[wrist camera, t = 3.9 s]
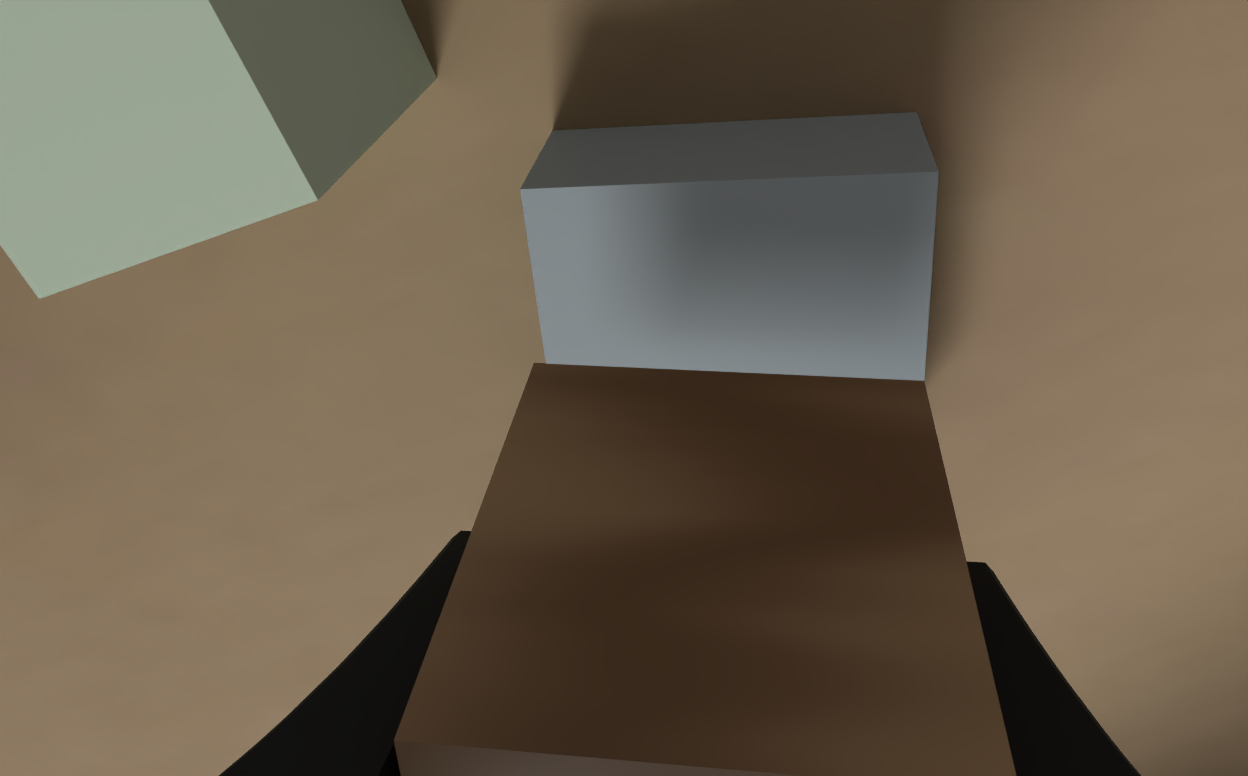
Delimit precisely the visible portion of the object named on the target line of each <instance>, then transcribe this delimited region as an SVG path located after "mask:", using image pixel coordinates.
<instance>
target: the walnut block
mask: <svg viewBox="0 0 1248 776" xmlns="http://www.w3.org/2000/svg"><path fill="white" fill-rule="evenodd" d="M394 744H395V749H396V754H397V759H398V764H399V769H400V774H401V776H1016V772H1015V768H1014V763H1013V759H1012V755H1011V751H1010V746H1009V742H1008V738H1007V733H1006V729H1005V725H1004V721H1003V716H1002V712H1001V708H1000V704H999V699H998V695H997V691H996V686H995V682H994V678H993V674H992V669H991V665H990V661H989V656H988V652H987V648H986V644H985V639H984V635H983V631H982V627H981V622H980V618H979V614H978V609H977V605H976V601H975V597H974V592H973V588H972V584H971V579H970V575H969V571H968V567H967V562H966V558H965V554H964V550H963V545H962V541H961V537H960V532H959V528H958V524H957V520H956V515H955V511H954V507H953V502H952V498H951V494H950V490H949V485H948V481H947V477H946V473H945V468H944V464H943V460H942V455H941V451H940V447H939V443H938V438H937V434H936V430H935V425H934V421H933V417H932V413H931V408H930V404H929V400H928V395H927V391H926V387H925V383H924V381H918V380H896V379H874V378H853V377H831V376H809V375H787V374H765V373H743V372H721V371H699V370H677V369H655V368H633V367H611V366H589V365H567V364H545V363H534V364H533V367H532V370H531V373H530V375H529V378H528V381H527V383H526V386H525V389H524V391H523V394H522V397H521V399H520V402H519V405H518V408H517V410H516V413H515V416H514V418H513V421H512V424H511V426H510V429H509V432H508V434H507V437H506V440H505V442H504V445H503V448H502V451H501V453H500V456H499V459H498V461H497V464H496V467H495V469H494V472H493V475H492V477H491V480H490V483H489V486H488V488H487V491H486V494H485V496H484V499H483V502H482V504H481V507H480V510H479V512H478V515H477V518H476V520H475V523H474V526H473V529H472V531H471V534H470V537H469V539H468V542H467V545H466V547H465V550H464V553H463V555H462V558H461V561H460V564H459V566H458V569H457V572H456V574H455V577H454V580H453V582H452V585H451V588H450V590H449V593H448V596H447V598H446V601H445V604H444V607H443V609H442V612H441V615H440V617H439V620H438V623H437V625H436V628H435V631H434V633H433V636H432V639H431V641H430V644H429V647H428V650H427V652H426V655H425V658H424V660H423V663H422V666H421V668H420V671H419V674H418V676H417V679H416V682H415V685H414V687H413V690H412V693H411V695H410V698H409V701H408V703H407V706H406V709H405V711H404V714H403V717H402V719H401V722H400V725H399V728H398V730H397V733H396V736H395V738H394Z"/></svg>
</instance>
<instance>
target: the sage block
mask: <svg viewBox="0 0 1248 776" xmlns="http://www.w3.org/2000/svg"><path fill="white" fill-rule="evenodd" d="M436 79H437V77H436V75H435V73H434V71H433V69H432V66H431V64H430V62H429V60H428V58H427V56H426V54H425V51H424V49H423V47H422V45H421V43H420V41H419V38H418V36H417V34H416V32H415V30H414V28H413V25H412V23H411V21H410V19H409V17H408V15H407V13H406V10H405V8H404V6H403V4H402V2H401V0H0V245H1V247H2V248H3V249H4V251H5V252H6V254H7V255H8V256H9V258H10V259H11V261H12V262H13V263H14V265H15V266H16V268H17V269H18V270H19V272H20V273H21V275H22V276H23V277H24V279H25V280H26V282H27V283H28V284H29V286H30V287H31V289H32V290H33V291H34V293H35V294H36V295H37V297H38V298H39V299H40V298H43V297H46V296H49V295H52V294H54V293H57V292H60V291H63V290H66V289H69V288H71V287H74V286H77V285H80V284H83V283H85V282H88V281H91V280H94V279H97V278H100V277H102V276H105V275H108V274H111V273H114V272H117V271H119V270H122V269H125V268H128V267H131V266H133V265H136V264H139V263H142V262H145V261H148V260H150V259H153V258H156V257H159V256H162V255H164V254H167V253H170V252H173V251H176V250H179V249H181V248H184V247H187V246H190V245H193V244H196V243H198V242H201V241H204V240H207V239H210V238H212V237H215V236H218V235H221V234H224V233H227V232H229V231H232V230H235V229H238V228H241V227H243V226H246V225H249V224H252V223H255V222H258V221H260V220H263V219H266V218H269V217H272V216H274V215H277V214H280V213H283V212H286V211H289V210H291V209H294V208H297V207H300V206H303V205H306V204H308V203H311V202H314V201H317V200H319V198H320V197H321V196H322V195H323V194H324V193H325V192H326V191H327V190H328V189H329V188H330V187H331V186H332V185H333V184H334V183H335V182H336V181H337V180H338V179H339V178H340V177H341V176H342V175H343V174H344V173H345V172H346V171H347V170H348V169H349V168H350V167H351V166H352V165H353V164H354V163H355V162H356V161H357V160H358V159H359V158H360V157H361V155H362V154H363V153H364V152H365V151H366V150H367V149H368V148H369V147H370V146H371V145H372V144H373V143H374V142H375V141H376V140H377V139H378V138H379V137H380V136H381V135H382V134H383V133H384V132H385V131H386V130H387V129H388V128H389V127H390V126H391V125H392V124H393V123H394V122H395V121H396V120H397V119H398V118H399V117H400V116H401V115H402V114H403V112H404V111H405V110H406V109H407V108H408V107H409V106H410V105H411V104H412V103H413V102H414V101H415V100H416V99H417V98H418V97H419V96H420V95H421V94H422V93H423V92H424V91H425V90H426V89H427V88H428V87H429V86H430V85H431V84H432V83H433V82H434V81H435V80H436Z"/></svg>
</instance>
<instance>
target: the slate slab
mask: <svg viewBox="0 0 1248 776" xmlns="http://www.w3.org/2000/svg"><path fill="white" fill-rule="evenodd" d="M938 177H939V171H938V168H937V165H936V163H935V160H934V157H933V155H932V152H931V149H930V147H929V144H928V141H927V139H926V136H925V133H924V130H923V128H922V125H921V122H920V120H919V117H918V114H917V112H907V113H887V114H868V115H848V116H828V117H809V118H789V119H769V120H750V121H730V122H711V123H691V124H671V125H652V126H632V127H612V128H593V129H573V130H553V131H552V132H551V134H550V136H549V138H548V140H547V141H546V143H545V145H544V147H543V149H542V151H541V152H540V154H539V156H538V158H537V160H536V161H535V163H534V165H533V167H532V169H531V170H530V172H529V174H528V176H527V178H526V179H525V181H524V183H523V185H522V187H521V188H520V192H521V199H522V206H523V212H524V219H525V226H526V233H527V239H528V246H529V253H530V260H531V266H532V273H533V280H534V287H535V293H536V300H537V307H538V314H539V320H540V327H541V334H542V341H543V347H544V354H545V361H546V364H567V365H589V366H611V367H633V368H655V369H677V370H699V371H721V372H743V373H765V374H787V375H809V376H831V377H853V378H874V379H896V380H918V381H924V380H925V365H926V351H927V336H928V322H929V307H930V293H931V278H932V264H933V249H934V235H935V220H936V206H937V191H938Z"/></svg>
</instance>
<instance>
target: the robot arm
mask: <svg viewBox="0 0 1248 776" xmlns="http://www.w3.org/2000/svg"><path fill="white" fill-rule="evenodd" d="M470 534H471V531H460V532H459V533H458V534H456V535H455V536H454V537H453V538H452V539H451V540H450V541H449V542H448V544H447V545H446V546H445V547H444V548H443V550H442V551H441V552H440V553H439V554H438V556H437V557H436V558H435V559H434V560H433V562H432V563H431V564H430V565H429V566H428V567H427V569H426V570H425V571H424V572H423V573H422V575H421V576H420V577H419V578H418V579H417V580H416V582H415V583H414V584H413V585H412V586H411V587H410V589H409V590H408V591H407V592H406V593H405V594H404V595H403V596H402V598H401V599H400V600H399V601H398V602H397V603H396V604H395V606H394V607H393V608H392V609H391V610H390V611H389V612H388V613H387V615H386V616H385V617H384V618H383V619H382V620H381V621H380V622H379V623H378V624H377V625H376V626H375V628H374V629H373V630H372V631H371V632H370V633H369V634H368V635H367V636H366V637H365V638H364V639H363V640H362V641H361V643H360V644H359V645H358V646H357V647H356V648H355V649H354V650H353V651H352V652H351V653H350V654H349V655H348V657H347V658H346V659H345V660H344V661H343V662H342V663H341V664H340V665H339V666H338V667H337V668H336V669H335V670H334V671H333V672H332V673H331V674H330V675H329V676H328V677H327V678H326V679H325V680H324V681H323V682H322V683H321V684H319V685H318V686H317V687H316V688H315V689H314V690H313V691H312V692H311V693H310V694H309V695H308V696H307V697H306V698H305V699H304V700H303V701H302V702H301V703H300V704H299V705H298V706H297V707H296V708H295V709H294V710H293V711H292V712H291V713H290V714H289V715H288V716H287V717H286V718H284V719H283V720H282V721H281V722H280V723H279V724H278V725H277V726H276V727H275V728H273V729H272V730H271V731H270V732H269V733H268V734H267V735H266V736H265V737H263V738H262V739H261V740H260V741H259V742H258V743H257V744H256V745H254V746H253V747H252V748H251V749H250V750H249V751H248V752H246V753H245V754H244V755H243V756H242V757H241V758H239V759H238V760H237V761H236V762H235V763H233V764H232V765H231V766H230V767H229V768H227V769H226V770H225V771H224V772H223V773H221V774H220V775H219V776H401V774H400V769H399V764H398V759H397V754H396V749H395V744H394V738H395V736H396V733H397V730H398V728H399V725H400V722H401V719H402V717H403V714H404V711H405V709H406V706H407V703H408V701H409V698H410V695H411V693H412V690H413V687H414V685H415V682H416V679H417V676H418V674H419V671H420V668H421V666H422V663H423V660H424V658H425V655H426V652H427V650H428V647H429V644H430V641H431V639H432V636H433V633H434V631H435V628H436V625H437V623H438V620H439V617H440V615H441V612H442V609H443V607H444V604H445V601H446V598H447V596H448V593H449V590H450V588H451V585H452V582H453V580H454V577H455V574H456V572H457V569H458V566H459V564H460V561H461V558H462V555H463V553H464V550H465V547H466V545H467V542H468V539H469V537H470ZM967 567H968V571H969V575H970V579H971V584H972V588H973V592H974V597H975V601H976V605H977V609H978V614H979V618H980V622H981V627H982V631H983V635H984V639H985V644H986V648H987V652H988V656H989V661H990V665H991V669H992V674H993V678H994V682H995V686H996V691H997V695H998V699H999V704H1000V708H1001V712H1002V716H1003V721H1004V725H1005V729H1006V733H1007V738H1008V742H1009V746H1010V751H1011V755H1012V759H1013V763H1014V768H1015V772H1016V776H1141V775H1140V774H1139V773H1138V771H1137V770H1136V769H1135V768H1134V767H1133V765H1132V764H1131V763H1130V762H1129V761H1128V760H1127V758H1126V757H1125V756H1124V755H1123V753H1122V752H1121V751H1120V750H1119V748H1118V747H1117V746H1116V745H1115V743H1114V742H1113V741H1112V740H1111V738H1110V737H1109V736H1108V735H1107V733H1106V732H1105V731H1104V729H1103V728H1102V727H1101V725H1100V724H1099V723H1098V721H1097V720H1096V719H1095V718H1094V716H1093V715H1092V714H1091V712H1090V711H1089V710H1088V708H1087V707H1086V706H1085V704H1084V703H1083V702H1082V700H1081V699H1080V698H1079V696H1078V695H1077V694H1076V692H1075V691H1074V690H1073V688H1072V687H1071V686H1070V684H1069V683H1068V682H1067V680H1066V679H1065V678H1064V676H1063V675H1062V673H1061V672H1060V671H1059V669H1058V668H1057V666H1056V665H1055V664H1054V662H1053V661H1052V659H1051V658H1050V657H1049V655H1048V654H1047V652H1046V651H1045V649H1044V648H1043V646H1042V645H1041V644H1040V642H1039V641H1038V639H1037V638H1036V636H1035V635H1034V633H1033V632H1032V630H1031V629H1030V627H1029V626H1028V624H1027V623H1026V621H1025V620H1024V618H1023V617H1022V615H1021V614H1020V612H1019V611H1018V609H1017V608H1016V606H1015V605H1014V603H1013V602H1012V600H1011V599H1010V597H1009V595H1008V594H1007V592H1006V591H1005V589H1004V588H1003V586H1002V585H1001V583H1000V581H999V580H998V578H997V577H996V575H995V573H994V572H993V571H992V570H991V569H990V567H989V566H988V565H987V564H986V563H982V562H967Z"/></svg>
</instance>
